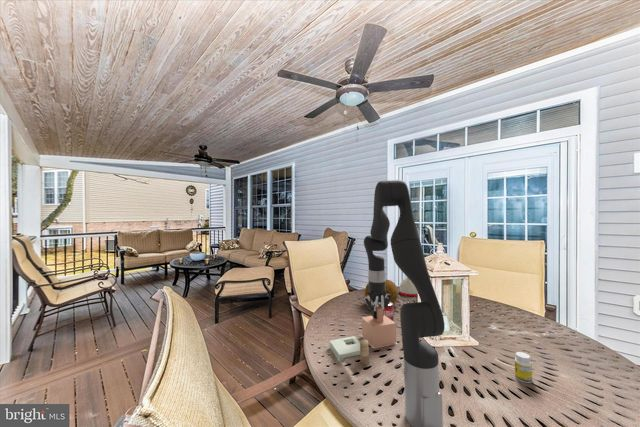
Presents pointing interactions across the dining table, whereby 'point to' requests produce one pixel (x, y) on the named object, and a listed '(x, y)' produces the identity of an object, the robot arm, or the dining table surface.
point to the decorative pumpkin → (390, 290)
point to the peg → (364, 352)
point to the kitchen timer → (407, 288)
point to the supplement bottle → (523, 367)
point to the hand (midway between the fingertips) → (378, 317)
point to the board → (379, 346)
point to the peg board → (345, 347)
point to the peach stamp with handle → (379, 329)
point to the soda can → (389, 311)
